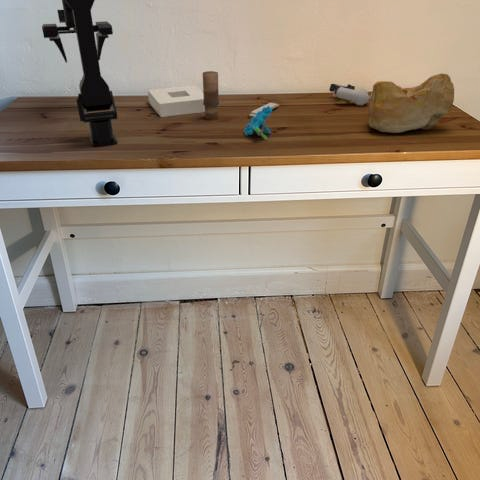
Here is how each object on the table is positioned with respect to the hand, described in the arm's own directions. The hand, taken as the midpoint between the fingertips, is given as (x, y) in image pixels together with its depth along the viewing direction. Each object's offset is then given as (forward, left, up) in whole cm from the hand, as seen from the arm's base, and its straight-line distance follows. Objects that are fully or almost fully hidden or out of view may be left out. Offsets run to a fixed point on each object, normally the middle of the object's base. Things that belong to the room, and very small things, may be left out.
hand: (82, 61), depth 137 cm
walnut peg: (-20, -33, -15) cm, 41 cm away
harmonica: (-21, -50, -15) cm, 56 cm away
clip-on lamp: (-22, -84, -15) cm, 88 cm away
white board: (-6, -27, -15) cm, 31 cm away
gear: (-38, -40, -15) cm, 57 cm away
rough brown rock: (-46, -82, -15) cm, 95 cm away
